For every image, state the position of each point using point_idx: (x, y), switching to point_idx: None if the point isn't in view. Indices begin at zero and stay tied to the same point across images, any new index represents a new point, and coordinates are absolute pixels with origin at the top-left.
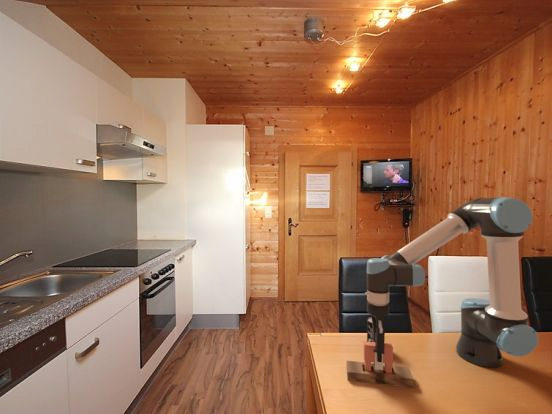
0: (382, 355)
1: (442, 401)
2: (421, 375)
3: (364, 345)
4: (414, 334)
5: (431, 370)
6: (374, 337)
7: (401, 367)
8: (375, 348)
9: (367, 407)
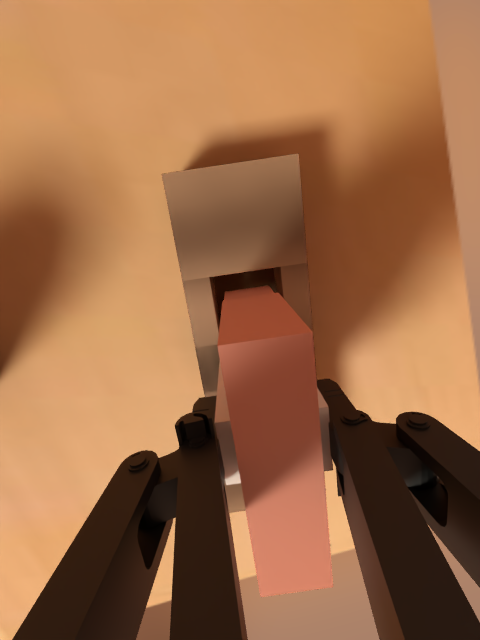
0: (318, 394)
1: (367, 11)
2: (146, 97)
3: (330, 581)
4: None
5: (54, 7)
6: (236, 566)
7: (188, 223)
8: (343, 489)
9: (468, 385)
